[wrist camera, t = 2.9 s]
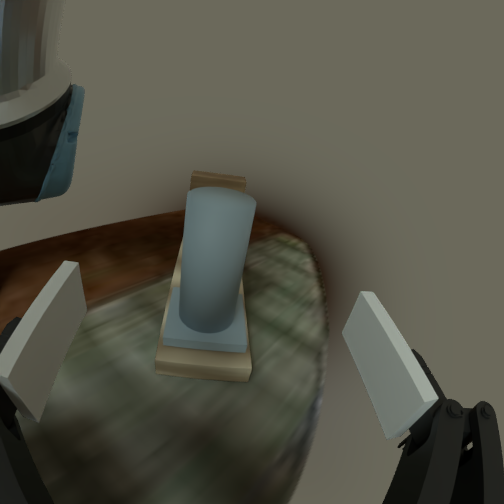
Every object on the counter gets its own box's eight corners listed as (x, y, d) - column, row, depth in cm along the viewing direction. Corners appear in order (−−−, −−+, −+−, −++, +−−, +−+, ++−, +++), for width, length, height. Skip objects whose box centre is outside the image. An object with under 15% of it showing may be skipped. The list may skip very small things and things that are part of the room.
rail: (247, 381, 24) (273, 293, 19) (156, 373, 22) (150, 280, 18) (234, 234, 49) (245, 177, 44) (187, 228, 47) (193, 170, 43)
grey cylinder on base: (245, 352, 24) (277, 223, 18) (163, 345, 23) (164, 209, 17) (240, 301, 30) (263, 190, 24) (172, 294, 29) (180, 179, 23)
